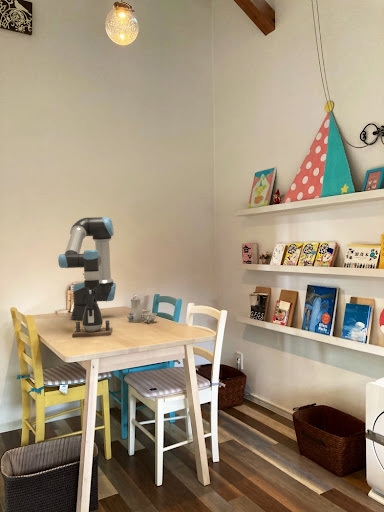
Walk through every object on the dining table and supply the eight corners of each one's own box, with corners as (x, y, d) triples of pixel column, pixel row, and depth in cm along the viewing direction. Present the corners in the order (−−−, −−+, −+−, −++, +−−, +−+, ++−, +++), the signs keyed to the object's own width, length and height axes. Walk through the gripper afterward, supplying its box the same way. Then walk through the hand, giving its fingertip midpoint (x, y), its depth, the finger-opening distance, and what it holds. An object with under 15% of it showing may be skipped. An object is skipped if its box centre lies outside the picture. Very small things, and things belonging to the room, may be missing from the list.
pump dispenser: (85, 333, 202) (84, 303, 201) (80, 330, 211) (79, 301, 210) (105, 331, 207) (104, 302, 206) (100, 327, 216) (99, 299, 215)
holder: (76, 332, 214) (76, 320, 214) (112, 330, 217) (112, 318, 216) (72, 337, 201) (71, 324, 201) (110, 335, 204) (110, 322, 204)
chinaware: (161, 326, 235) (163, 297, 236) (133, 325, 229) (135, 296, 229) (146, 318, 261) (148, 293, 261) (121, 318, 254) (123, 292, 255)
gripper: (87, 278, 220) (88, 316, 221) (80, 281, 196) (81, 325, 196) (101, 277, 221) (102, 315, 222) (96, 281, 197) (97, 324, 197)
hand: (92, 320), depth 209 cm, fingers open, 13 cm apart
